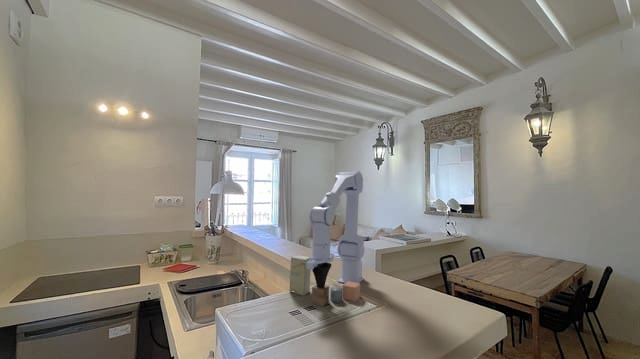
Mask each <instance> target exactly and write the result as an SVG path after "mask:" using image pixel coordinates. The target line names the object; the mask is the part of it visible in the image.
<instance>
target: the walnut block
mask: <svg viewBox="0 0 640 359" xmlns="http://www.w3.org/2000/svg"><path fill="white" fill-rule="evenodd" d="M329 302H330V286H329V285H326V284H325V286H324V287H323V288H320V287H317V284H316V285H314V286H312V287H311V305H315V306H319V307H325V306H326V304H328V303H329Z"/></svg>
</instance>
